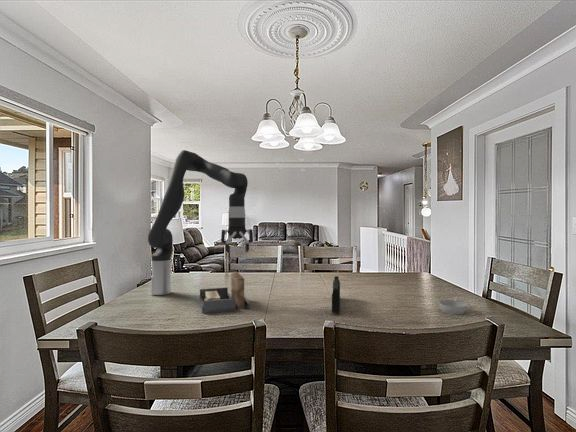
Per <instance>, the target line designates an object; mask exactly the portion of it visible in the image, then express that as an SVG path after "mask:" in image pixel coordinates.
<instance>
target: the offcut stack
mask: <svg viewBox="0 0 576 432" xmlns="http://www.w3.org/2000/svg"><path fill="white" fill-rule="evenodd" d="M205 296H206V298H204V300H203V302H204V301H207V300H220V296H219V294H218V292H217V291H207V292H205Z"/></svg>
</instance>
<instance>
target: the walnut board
mask: <svg viewBox="0 0 576 432" xmlns="http://www.w3.org/2000/svg"><path fill="white" fill-rule="evenodd" d="M230 278H231V279H230V280H231V281H230V282H231V283H230V285H231V286H230V288H231V289H230V291H231V294H230V296H231V297H232V299H233V298H235V303H236V310H237V309H245V305H244V296H245V278H244V277H243V275H242V274H240V273H239V271H231V272H230Z"/></svg>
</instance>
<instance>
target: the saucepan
mask: <svg viewBox="0 0 576 432" xmlns="http://www.w3.org/2000/svg"><path fill="white" fill-rule="evenodd" d="M458 299H459V296H455V297H454V298H453V300H451V299H450V300H449V299H448V300H447V299H445V300H443V299H442V300H440V301H438V307H439V309H440V310H441V312H442V313H445V314H448V315H449V314H450V315H464V314H465V313H466V311H467V309H468V304H467V303H466V302H462V301H459V300H458Z"/></svg>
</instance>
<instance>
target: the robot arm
mask: <svg viewBox="0 0 576 432" xmlns="http://www.w3.org/2000/svg"><path fill="white" fill-rule="evenodd" d="M186 171H189V172H198V173H202V174H204V175H206V176H207V177H209V178H211V179H212V180H214V181H217V182H220V183H221V184H223V185H224V186H226V187H228V188H231V189H234V191H233V193H231V194H229V197H228V229H222V230H221V233H220V234H221V235H220V237H221V238H220V241H221V242H220V243H222V244H225V245H224V246H225V248H224V249H225V252H226V253H228V254H229V253H230V245H229V244H230V243H231V241H232V240H237V239H239V240H241V239H242V240H243V241H244V242H245V246H244V248H245V249H244V250H245V252H246V253H248V252H249V251H250V244H251V243H253V242H254V234H253V229H251V228H250V229H247V228H246V208H245V197H246V194H247V190H248V189H247V188H248V177H247V175H245V174H244V173H241V172H235V171H231V170H230V169H228V168H226V167H224V166H222V165H220V164H217V163H213V162H210V161H207V160H206V159H205V158H203V157H201V156H200V155H199V154H197V153H196V152H192V151H189V150H185V149H183V150H180V151H179V152H178V153H177V155H176V157H175V162H174V165H173V169H172V173H171V177H170V180H169V182H168V186H167V188H166V191H165V194H164V196H163V199H162V201H161V202H162V203H161V205H160V208H159V210H158V213H157V216H156V218H155V220H154V223H152V226H151V228H150V230H149V233H148V235H147V242H148V244H149V246H150V247H153V248H156V251H154V253H153V254H152V255H151V280H150V281H151V296H164V295H169V294H171V293H172V282H171V281H172V279H171V277H172V275H171V274H172V273H171V272H172V271H171V270H172V269H171V268H172V267H171V266H172V265H171V261H172V260H171V257H172V254H173V241H174V239H173V234H172V231H171V230H169V229H168V225H169V223H170V222H171V221H172V220H173V218H175V217H176V215H177V214H178V212H179V211H180V210H181V207H182V206H183V202H184V199H185V187H184V179H185V175H186ZM227 233H228V235H229V236H228V237H227V239H226V238H225V237H226V235H227ZM246 234H247V235H248V236H249V237H248V238H249V239H247V237H246V236H245V235H246ZM225 239H226V240H225Z"/></svg>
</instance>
